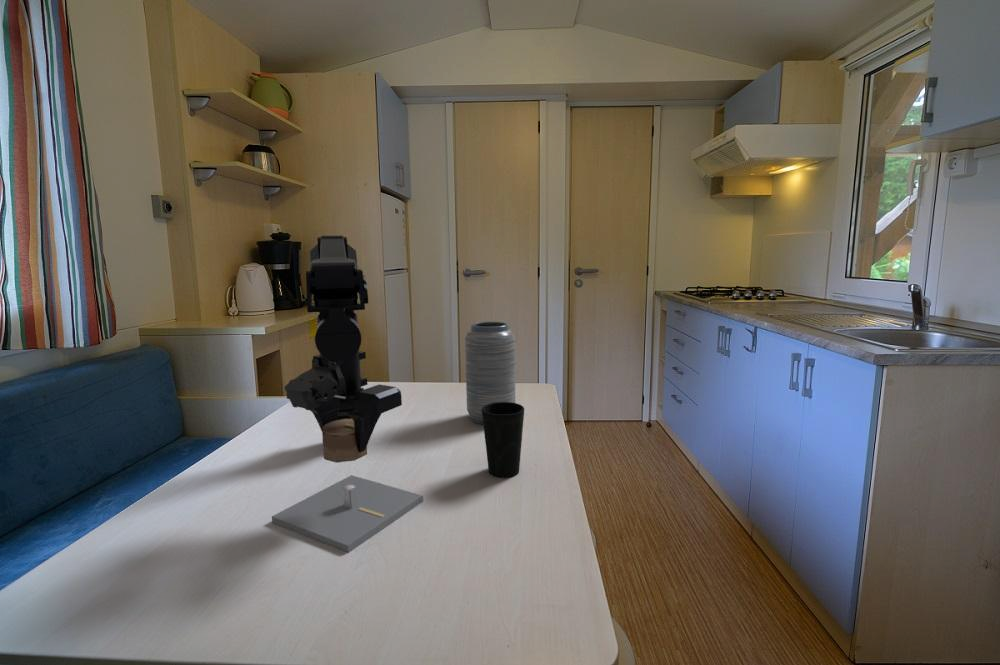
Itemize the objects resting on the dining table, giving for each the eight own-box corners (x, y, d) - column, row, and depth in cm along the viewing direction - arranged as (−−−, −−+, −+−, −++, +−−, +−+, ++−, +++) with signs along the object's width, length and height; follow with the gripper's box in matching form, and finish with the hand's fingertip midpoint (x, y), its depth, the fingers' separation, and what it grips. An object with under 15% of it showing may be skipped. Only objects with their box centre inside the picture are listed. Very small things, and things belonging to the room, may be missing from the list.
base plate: (272, 522, 77) (269, 497, 76) (351, 480, 90) (350, 459, 90) (348, 552, 69) (346, 524, 68) (423, 501, 82) (422, 478, 82)
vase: (524, 416, 124) (523, 322, 120) (498, 430, 114) (497, 329, 110) (484, 408, 130) (483, 319, 126) (457, 421, 120) (454, 325, 117)
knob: (315, 457, 77) (313, 426, 76) (346, 443, 82) (344, 414, 81) (345, 465, 74) (343, 433, 73) (375, 450, 79) (373, 420, 78)
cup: (494, 484, 88) (493, 417, 86) (476, 468, 95) (474, 405, 93) (532, 474, 91) (532, 410, 90) (512, 459, 98) (511, 399, 96)
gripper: (249, 351, 73) (259, 454, 76) (342, 364, 64) (350, 481, 66) (312, 339, 83) (319, 431, 85) (401, 348, 73) (406, 451, 76)
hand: (346, 447), depth 78 cm, fingers closed on knob, 6 cm apart
